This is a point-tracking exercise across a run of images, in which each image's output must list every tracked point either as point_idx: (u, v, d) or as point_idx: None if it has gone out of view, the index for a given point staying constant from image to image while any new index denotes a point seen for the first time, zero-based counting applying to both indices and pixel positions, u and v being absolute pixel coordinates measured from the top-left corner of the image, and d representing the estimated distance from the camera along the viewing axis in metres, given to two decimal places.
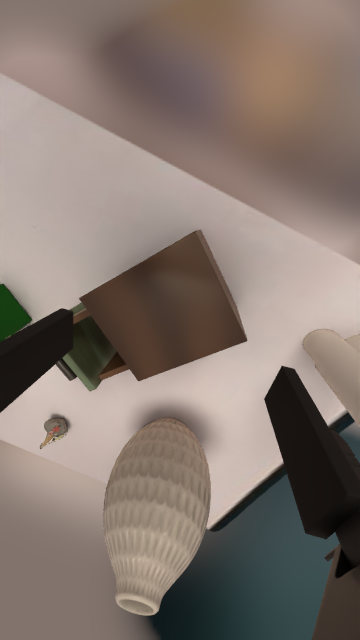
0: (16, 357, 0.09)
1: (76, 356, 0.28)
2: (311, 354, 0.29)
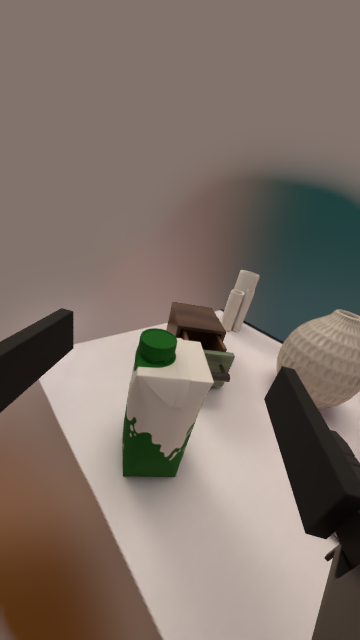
0: (16, 357, 0.09)
1: None
2: (227, 323, 0.73)
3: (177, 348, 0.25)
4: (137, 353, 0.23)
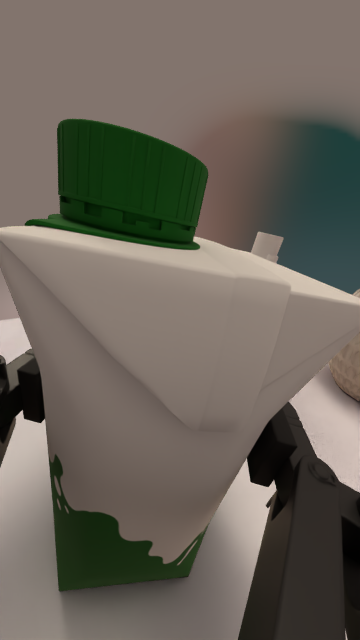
0: None
1: None
2: None
3: (200, 240, 0.08)
4: (56, 216, 0.06)
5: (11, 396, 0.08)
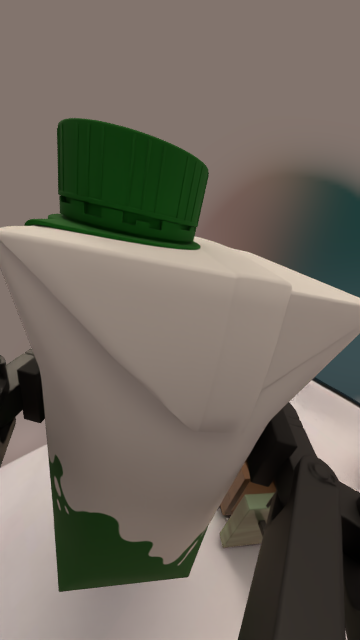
0: None
1: None
2: None
3: (200, 240, 0.08)
4: (56, 215, 0.06)
5: (11, 396, 0.08)
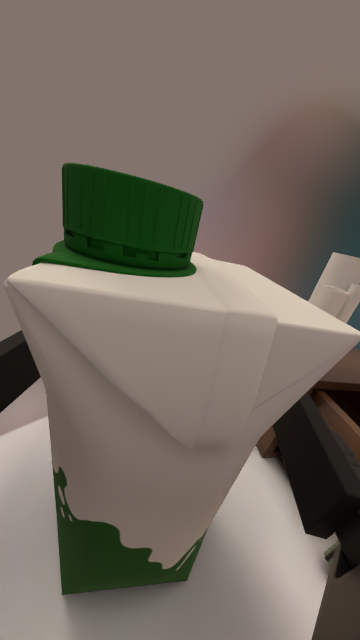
0: (16, 357, 0.09)
1: None
2: None
3: (197, 258, 0.09)
4: (61, 243, 0.06)
5: None
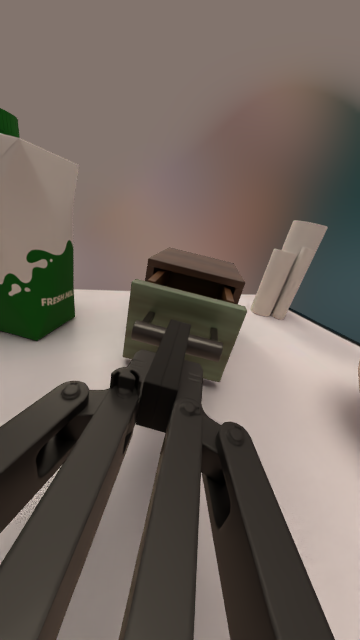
0: None
1: None
2: (263, 302, 0.46)
3: None
4: None
5: (137, 411, 0.09)
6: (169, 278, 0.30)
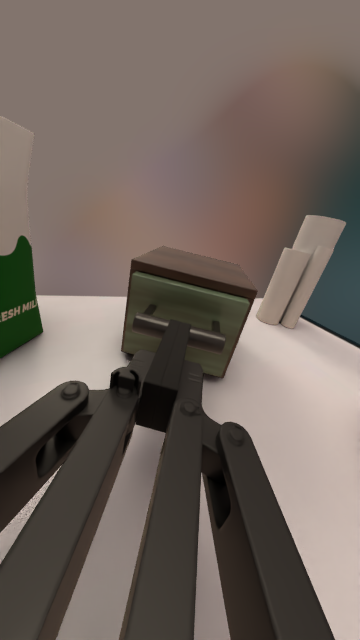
0: None
1: None
2: (272, 309, 0.40)
3: None
4: None
5: (137, 411, 0.09)
6: None
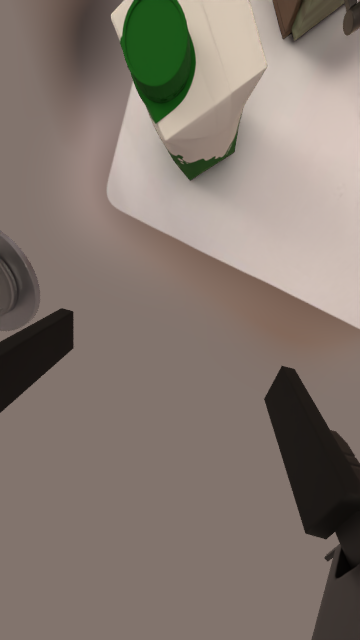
0: (16, 357, 0.09)
1: None
2: None
3: (187, 5, 0.13)
4: (140, 92, 0.15)
5: None
6: None
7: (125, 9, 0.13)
